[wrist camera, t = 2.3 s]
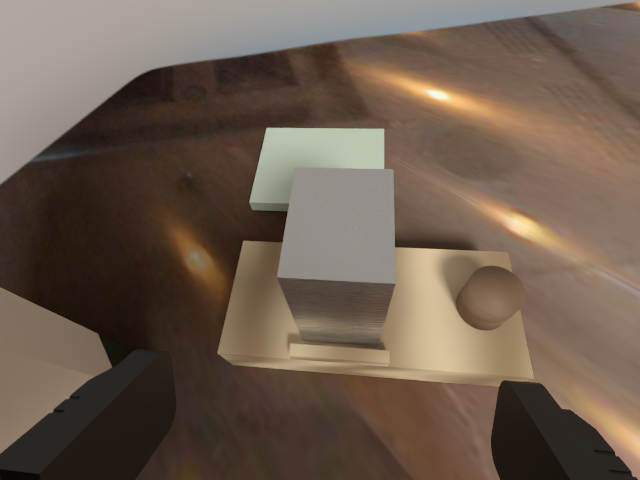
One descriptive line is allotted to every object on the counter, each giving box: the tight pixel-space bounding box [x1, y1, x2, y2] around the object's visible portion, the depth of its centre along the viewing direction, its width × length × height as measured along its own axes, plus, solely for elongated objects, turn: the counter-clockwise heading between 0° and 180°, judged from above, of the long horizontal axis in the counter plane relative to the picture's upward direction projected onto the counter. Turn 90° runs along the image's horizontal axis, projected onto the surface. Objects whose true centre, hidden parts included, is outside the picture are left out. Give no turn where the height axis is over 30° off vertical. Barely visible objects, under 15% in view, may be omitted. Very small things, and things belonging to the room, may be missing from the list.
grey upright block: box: [277, 167, 396, 346], centre depth 17 cm, size 4×6×8 cm
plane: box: [217, 241, 534, 387], centre depth 20 cm, size 16×7×5 cm, turn 85°
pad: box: [249, 128, 384, 211], centre depth 29 cm, size 10×8×1 cm
